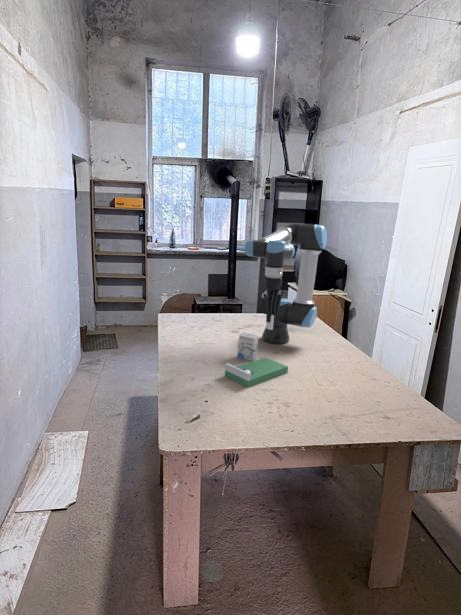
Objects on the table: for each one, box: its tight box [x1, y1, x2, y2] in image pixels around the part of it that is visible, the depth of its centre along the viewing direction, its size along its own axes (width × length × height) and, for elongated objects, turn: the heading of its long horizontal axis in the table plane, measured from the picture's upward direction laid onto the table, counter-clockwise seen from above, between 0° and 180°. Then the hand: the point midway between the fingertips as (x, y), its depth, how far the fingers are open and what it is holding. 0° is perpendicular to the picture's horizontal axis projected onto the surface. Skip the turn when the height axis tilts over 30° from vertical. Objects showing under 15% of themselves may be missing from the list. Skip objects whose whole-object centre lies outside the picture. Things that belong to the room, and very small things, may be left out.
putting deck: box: [224, 357, 289, 388], centre depth 188 cm, size 14×26×6 cm, turn 133°
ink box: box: [237, 332, 259, 362], centre depth 207 cm, size 9×5×12 cm, turn 62°
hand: (269, 328), depth 188 cm, fingers closed
